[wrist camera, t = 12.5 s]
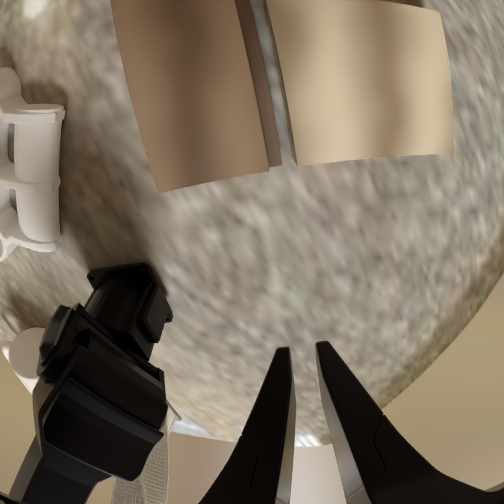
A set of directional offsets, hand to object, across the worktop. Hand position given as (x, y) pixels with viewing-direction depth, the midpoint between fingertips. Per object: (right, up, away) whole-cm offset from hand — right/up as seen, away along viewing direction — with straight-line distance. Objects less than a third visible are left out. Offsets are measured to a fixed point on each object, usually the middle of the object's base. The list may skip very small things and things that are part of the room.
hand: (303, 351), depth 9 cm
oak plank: (+5, +14, +5) cm, 16 cm away
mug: (-31, -10, +22) cm, 39 cm away
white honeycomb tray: (-23, +11, +8) cm, 27 cm away
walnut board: (-6, +18, +3) cm, 19 cm away
